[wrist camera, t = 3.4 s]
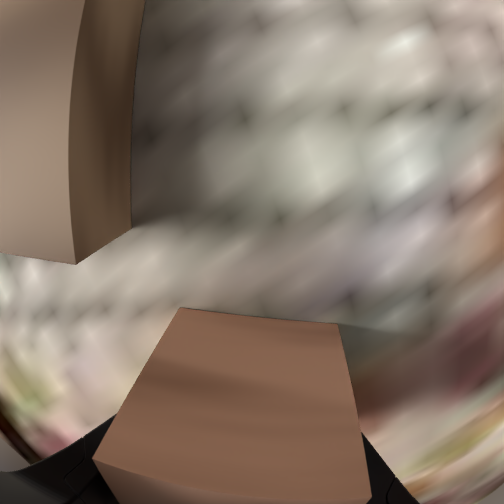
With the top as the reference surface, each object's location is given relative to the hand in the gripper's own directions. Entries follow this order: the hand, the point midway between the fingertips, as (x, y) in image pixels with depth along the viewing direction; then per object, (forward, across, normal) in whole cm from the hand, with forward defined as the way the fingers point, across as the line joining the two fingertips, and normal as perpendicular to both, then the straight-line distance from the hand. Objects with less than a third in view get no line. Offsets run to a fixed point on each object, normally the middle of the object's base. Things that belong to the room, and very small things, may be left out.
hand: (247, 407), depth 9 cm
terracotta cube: (+2, 0, 0) cm, 2 cm away
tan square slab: (+2, +9, -10) cm, 14 cm away
